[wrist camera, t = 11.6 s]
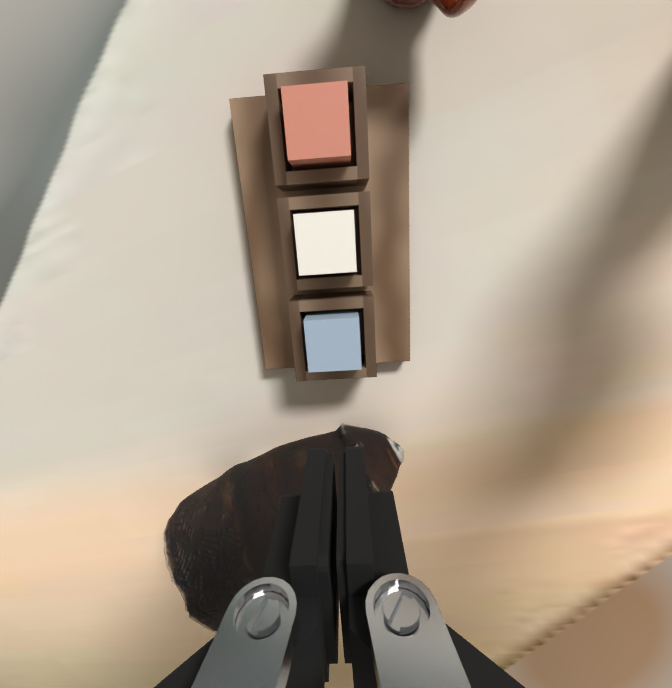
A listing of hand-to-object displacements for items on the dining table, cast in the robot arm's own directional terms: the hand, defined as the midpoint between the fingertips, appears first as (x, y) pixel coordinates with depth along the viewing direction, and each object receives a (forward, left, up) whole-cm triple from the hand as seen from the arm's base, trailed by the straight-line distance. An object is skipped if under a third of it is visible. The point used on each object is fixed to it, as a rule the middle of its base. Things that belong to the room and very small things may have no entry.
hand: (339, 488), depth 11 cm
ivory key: (+1, -7, -25) cm, 26 cm away
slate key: (+1, +2, -25) cm, 25 cm away
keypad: (+1, -7, -29) cm, 30 cm away
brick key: (+1, -16, -25) cm, 30 cm away
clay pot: (+6, +21, -29) cm, 37 cm away
